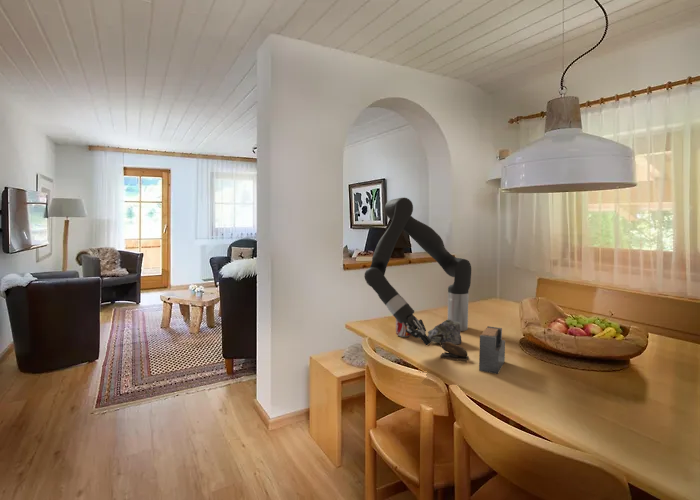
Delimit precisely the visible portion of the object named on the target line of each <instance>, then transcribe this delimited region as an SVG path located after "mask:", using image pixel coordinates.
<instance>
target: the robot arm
mask: <svg viewBox="0 0 700 500" xmlns="http://www.w3.org/2000/svg"><path fill="white" fill-rule="evenodd" d="M413 211H414V205H413V202H412V200H411V199H410V198H408V197H398V198H392V199H391V200H389V201H387V202H386V203H385V205H384V212H385V215H386V216H387V217H388V219H389V220H391V222H390V225H389V226H388V228H387V229H386V231H385V232H384V233H383V235H382V236H381V237H380V239H379V240H378V242H377V244H376V247H375V249H374V252H373V255H372V257H371V264H370V267H369V268H367V269H366V270H365V272H364V279H365V281H366V284H367V285H368V286H369V287H370V288H371V289H373V290H374V292H375V293H376V294H377V296H378V298H379V299H380V301H382V303H383V304H384V305H385V306H386V308H387V310H388V311H389V312H390V313H391V315H392V316H393V317H394V318H395V320H396V319H397V321H398V322H399V323H404V324H405V326H406V327H407V329H406V330H405V331H406V332H407V333H409V334H410V336H412V337H414V338H415V339H421V341H422V343H424V344H425V346H429V345H430V344H431V343H432V341H431V340H430V339H429V338H428V335H427V334H426V332H427V329H426V327H425V326H426V325H424V322H423V319H418V318H417V317H416V316H415V315H414V314H415V309H413V308H412V306H411V305H410V304H409V303H408V302H407V300H406V299H405V298H404V297H403V296H402V295H400V294H399V292H398V291H397V289H395V287H393V285H391V283H390V282H389V280H388V279H387V277H386V276H385V274H386V270H387V266H388V264H389V261H390V260H391V256H392V254H393V251H394V249H395V246H396V244H397V242H398V240H399V238H400V236H401V234H402V232H403V231H404V232H405V233H406V234H407V235H408V236H409V237H411V238H412V239H413V241H415V243H417V244H418V246H420V247H421V249H423V251H425V252H426V253H427V254H428V255H429V256H430V257H432V259H433V260H435V261H436V263H438V265H439V266H440V268H442V270H443V271H444V273H446V274H447V275H448V276H449V277H451V278H454V280H453V281H454V282H453V283H452V284H450V285H449V286H448V287H447V320H451V321H453V322H459V324H460V330H461V331H460V332H464V331H468V329H469V328H468V326H469V325H468V324H469V290H470V287H471V281H472V264H471V261H469V260H468V259H465V258H459V257H455V256H454V255H453V254H452V253H450V252H449V251H448V250H447V249H446V247H445V244H444V240H443V238H442V237H441V236H440V235H439V234H438V232H436V231H435V229H433V228H432V227H430V226H429V225H427V224H425V223H424V222H422V221H419V220H417V219H416V218H414V217H413V216H412V214H413Z"/></svg>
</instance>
